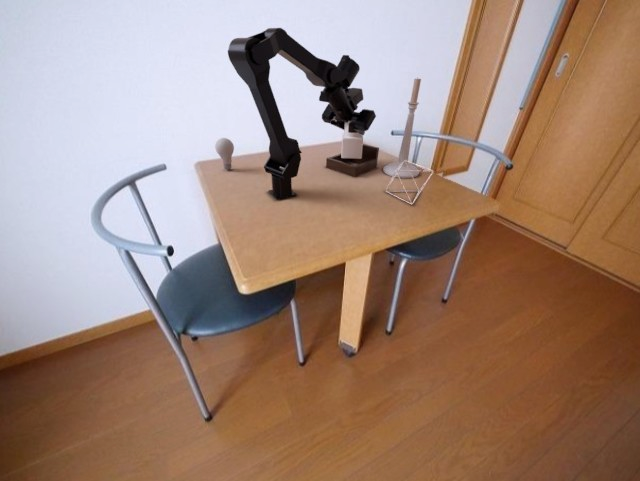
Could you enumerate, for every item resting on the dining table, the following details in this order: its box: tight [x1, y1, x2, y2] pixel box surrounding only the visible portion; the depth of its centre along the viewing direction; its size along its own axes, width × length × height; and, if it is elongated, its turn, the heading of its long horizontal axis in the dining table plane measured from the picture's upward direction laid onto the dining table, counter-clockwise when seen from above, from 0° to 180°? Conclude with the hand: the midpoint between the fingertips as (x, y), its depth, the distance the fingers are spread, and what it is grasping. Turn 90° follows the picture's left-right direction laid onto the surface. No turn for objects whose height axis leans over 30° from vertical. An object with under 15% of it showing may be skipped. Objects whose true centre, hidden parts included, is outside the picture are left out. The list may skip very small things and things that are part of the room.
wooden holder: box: [325, 143, 380, 178], centre depth 105 cm, size 13×13×8 cm
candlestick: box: [382, 78, 422, 179], centre depth 96 cm, size 13×13×30 cm
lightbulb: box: [214, 137, 235, 171], centre depth 99 cm, size 6×6×11 cm
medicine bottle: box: [340, 120, 364, 159], centre depth 100 cm, size 7×7×12 cm
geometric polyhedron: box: [385, 160, 435, 205], centre depth 84 cm, size 12×11×9 cm
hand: (356, 132), depth 101 cm, fingers closed on medicine bottle, 6 cm apart
